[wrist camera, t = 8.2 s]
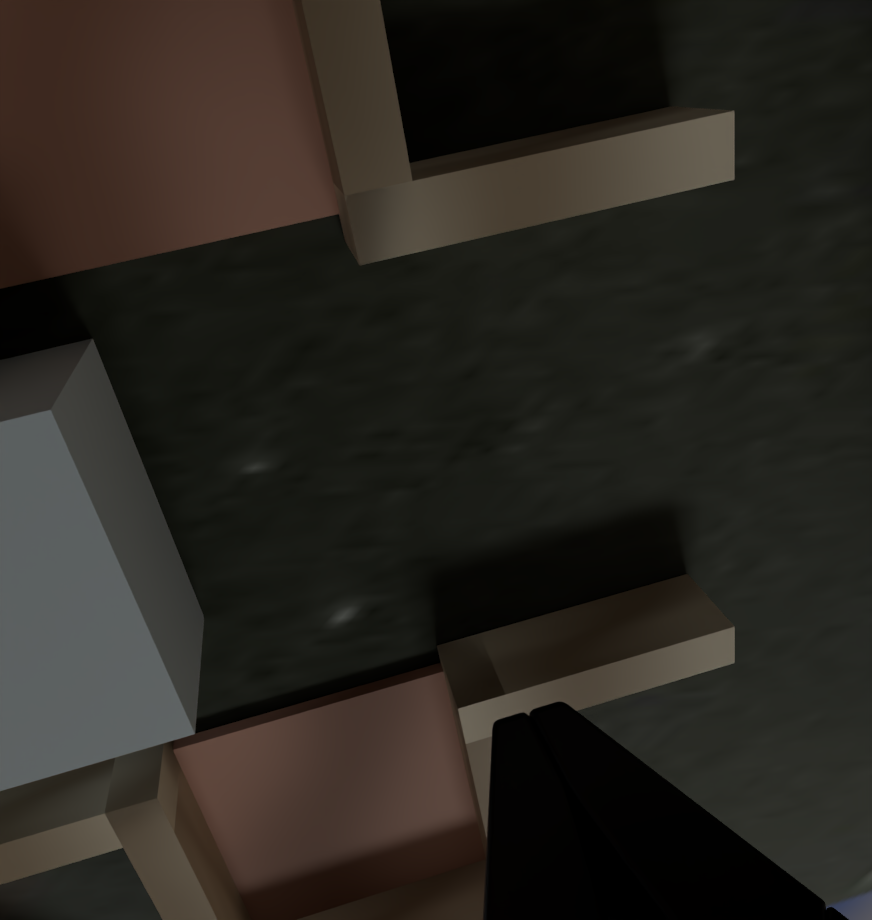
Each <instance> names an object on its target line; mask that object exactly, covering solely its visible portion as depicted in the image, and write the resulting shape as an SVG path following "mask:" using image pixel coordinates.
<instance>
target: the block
mask: <svg viewBox="0 0 872 920" xmlns="http://www.w3.org/2000/svg"><path fill="white" fill-rule="evenodd" d="M203 624H204V616H203V613H202V611H201V608H200V606H199V603H198V601H197V598H196V596H195V593H194V591H193V588H192V586H191V583H190V581H189V578H188V576H187V573H186V571H185V568H184V566H183V563H182V561H181V558H180V556H179V553H178V551H177V548H176V546H175V543H174V541H173V538H172V536H171V533H170V531H169V528H168V526H167V523H166V521H165V518H164V516H163V513H162V511H161V508H160V506H159V503H158V501H157V498H156V496H155V493H154V491H153V488H152V486H151V483H150V481H149V478H148V476H147V473H146V471H145V468H144V466H143V463H142V461H141V458H140V456H139V453H138V451H137V448H136V446H135V443H134V441H133V438H132V436H131V433H130V431H129V428H128V426H127V423H126V421H125V418H124V416H123V413H122V411H121V408H120V406H119V403H118V401H117V398H116V396H115V393H114V391H113V388H112V386H111V383H110V381H109V378H108V376H107V373H106V371H105V368H104V366H103V363H102V361H101V358H100V356H99V353H98V351H97V348H96V346H95V343H94V341H93V338H92V339H88V340H84V341H80V342H75V343H71V344H67V345H63V346H58V347H54V348H50V349H46V350H41V351H37V352H33V353H29V354H24V355H20V356H16V357H11V358H7V359H3V360H0V791H3V790H6V789H9V788H13V787H16V786H20V785H23V784H26V783H30V782H33V781H37V780H40V779H44V778H47V777H50V776H54V775H57V774H61V773H64V772H67V771H71V770H74V769H78V768H81V767H84V766H88V765H91V764H95V763H98V762H102V761H105V760H108V759H112V758H115V757H119V756H122V755H125V754H129V753H132V752H136V751H139V750H143V749H146V748H149V747H153V746H156V745H160V744H163V743H166V742H170V741H173V740H177V739H180V738H183V737H187V736H190V735H194V734H195V728H196V715H197V702H198V689H199V676H200V663H201V650H202V637H203Z"/></svg>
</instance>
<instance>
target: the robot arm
mask: <svg viewBox="0 0 872 920" xmlns="http://www.w3.org/2000/svg"><path fill="white" fill-rule="evenodd" d="M483 920H848V919H847V918H846V917H845V916H843V915H842V914H841V913H840V912H838V911H837V910H836V909H834V908H832V907H829V908H827V909H826V905H825V902H824V901H823V900H822V899H821V898H819V897H818V896H817V895H816V894H814V893H813V892H812V891H810V890H809V889H808V888H806V887H805V886H804V885H803V884H801V883H800V882H799V881H797V880H796V879H795V878H793V877H792V876H791V875H790V874H788V873H787V872H786V871H784V870H783V869H782V868H780V867H779V866H778V865H776V864H775V863H774V862H773V861H771V860H770V859H769V858H767V857H766V856H765V855H763V854H762V853H761V852H760V851H758V850H757V849H756V848H754V847H753V846H752V845H750V844H749V843H748V842H747V841H745V840H744V839H743V838H741V837H740V836H739V835H737V834H736V833H735V832H733V831H732V830H731V829H730V828H728V827H727V826H726V825H724V824H723V823H722V822H720V821H719V820H718V819H717V818H715V817H714V816H713V815H711V814H710V813H709V812H707V811H706V810H705V809H703V808H702V807H701V806H700V805H698V804H697V803H696V802H694V801H693V800H692V799H690V798H689V797H688V796H687V795H685V794H684V793H683V792H681V791H680V790H679V789H677V788H676V787H675V786H674V785H672V784H671V783H670V782H668V781H667V780H666V779H664V778H663V777H662V776H660V775H659V774H658V773H657V772H655V771H654V770H653V769H651V768H650V767H649V766H647V765H646V764H645V763H644V762H642V761H641V760H640V759H638V758H637V757H636V756H634V755H633V754H632V753H630V752H629V751H628V750H627V749H625V748H624V747H623V746H621V745H620V744H619V743H617V742H616V741H615V740H614V739H612V738H611V737H610V736H608V735H607V734H606V733H604V732H603V731H602V730H601V729H599V728H598V727H597V726H595V725H594V724H593V723H591V722H590V721H589V720H587V719H586V718H585V717H584V716H582V715H581V714H580V713H578V712H577V711H576V710H574V709H573V708H572V707H571V706H569V705H568V704H566V703H564V702H560V701H559V702H555V703H551V704H548V705H545V706H541V707H538V708H535V709H533V710H532V711H531V712H530V713H529V715H528V714H526V713H524V712H523V713H518V714H515V715H511V716H508V717H505V718H501V719H498V720H496V721H495V722H494V724H493V727H492V745H491V765H490V785H489V805H488V825H487V846H486V866H485V886H484V906H483Z"/></svg>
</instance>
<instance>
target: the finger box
mask: <svg viewBox="0 0 872 920" xmlns="http://www.w3.org/2000/svg"><path fill="white" fill-rule="evenodd" d="M730 180H734V111H732V110H717V109H702V108H687V107H672V106H671V107H667V108H662V109H657V110H653V111H648V112H644V113H639V114H634V115H630V116H625V117H620V118H616V119H611V120H606V121H602V122H597V123H593V124H588V125H583V126H579V127H574V128H569V129H565V130H560V131H556V132H551V133H546V134H542V135H537V136H532V137H528V138H523V139H518V140H514V141H509V142H505V143H500V144H495V145H491V146H486V147H481V148H477V149H472V150H468V151H463V152H458V153H454V154H449V155H444V156H440V157H435V158H431V159H426V160H421V161H417V162H412V163H409V158H408V153H407V147H406V142H405V136H404V130H403V125H402V119H401V114H400V108H399V103H398V97H397V92H396V86H395V81H394V75H393V70H392V64H391V59H390V53H389V48H388V42H387V37H386V31H385V25H384V20H383V14H382V9H381V3H380V0H0V289H1V288H6V287H10V286H15V285H19V284H24V283H29V282H33V281H38V280H42V279H47V278H51V277H56V276H60V275H65V274H69V273H74V272H78V271H83V270H87V269H92V268H96V267H101V266H105V265H110V264H114V263H119V262H124V261H128V260H133V259H137V258H142V257H146V256H151V255H155V254H160V253H164V252H169V251H173V250H178V249H182V248H187V247H191V246H196V245H200V244H205V243H209V242H214V241H219V240H223V239H228V238H232V237H237V236H241V235H246V234H250V233H255V232H259V231H264V230H268V229H273V228H277V227H282V226H286V225H291V224H295V223H300V222H304V221H309V220H314V219H318V218H323V217H327V216H332V215H336V214H339V217H340V221H341V226H342V230H343V234H344V239H345V242H346V243H347V245H348V247H349V248H350V250H351V252H352V253H353V255H354V257H355V258H356V260H357V261H358V263H359V265H363V264H368V263H372V262H377V261H381V260H385V259H390V258H394V257H398V256H403V255H407V254H412V253H416V252H420V251H425V250H429V249H433V248H438V247H442V246H446V245H451V244H455V243H460V242H464V241H468V240H473V239H477V238H481V237H486V236H490V235H494V234H499V233H503V232H508V231H512V230H516V229H521V228H525V227H529V226H534V225H538V224H542V223H547V222H551V221H556V220H560V219H564V218H569V217H573V216H577V215H582V214H586V213H591V212H595V211H599V210H604V209H608V208H612V207H617V206H621V205H625V204H630V203H634V202H639V201H643V200H647V199H652V198H656V197H660V196H665V195H669V194H673V193H678V192H682V191H687V190H691V189H695V188H700V187H704V186H708V185H713V184H717V183H721V182H726V181H730ZM437 649H438V654H439V658H440V662H441V663H438V664H434V665H431V666H427V667H424V668H420V669H417V670H413V671H410V672H407V673H403V674H400V675H396V676H393V677H389V678H386V679H382V680H379V681H375V682H372V683H368V684H365V685H362V686H358V687H355V688H351V689H348V690H344V691H341V692H337V693H334V694H330V695H327V696H324V697H320V698H317V699H313V700H310V701H306V702H303V703H299V704H296V705H292V706H289V707H285V708H282V709H279V710H275V711H272V712H268V713H265V714H261V715H258V716H254V717H251V718H247V719H244V720H241V721H237V722H234V723H230V724H227V725H223V726H220V727H216V728H213V729H209V730H206V731H202V732H199V733H196V734H194V735H190V736H187V737H183V738H180V739H177V740H173V741H170V742H166V743H163V744H160V745H156V746H153V747H149V748H146V749H143V750H139V751H136V752H132V753H129V754H125V755H122V756H119V757H115V758H112V759H108V760H105V761H102V762H98V763H95V764H91V765H88V766H84V767H81V768H78V769H74V770H71V771H67V772H64V773H61V774H57V775H54V776H50V777H47V778H44V779H40V780H37V781H33V782H30V783H26V784H23V785H20V786H16V787H13V788H9V789H6V790H3V791H0V885H1V884H4V883H8V882H11V881H14V880H17V879H21V878H24V877H27V876H31V875H34V874H37V873H41V872H44V871H47V870H51V869H54V868H57V867H60V866H64V865H67V864H70V863H74V862H77V861H80V860H84V859H87V858H90V857H94V856H97V855H100V854H104V853H107V852H110V851H113V850H117V849H120V848H124V850H125V852H126V854H127V856H128V857H129V859H130V861H131V863H132V865H133V867H134V868H135V870H136V872H137V874H138V876H139V877H140V879H141V881H142V883H143V885H144V887H145V888H146V890H147V892H148V894H149V896H150V897H151V899H152V901H153V903H154V905H155V907H156V908H157V910H158V912H159V914H160V916H161V918H162V919H163V920H483V906H484V886H485V866H486V846H487V825H488V805H489V785H490V765H491V745H492V727H493V724H494V722H495V721H496V720H498V719H501V718H505V717H508V716H511V715H515V714H518V713H523V712H524V713H526V714H528V715H529V713H530V712H531V711H532V710H533V709H535V708H538V707H541V706H545V705H548V704H551V703H555V702H559V701H560V702H564V703H566V704H568V705H569V706H571V707H572V708H573V709H574V710H576V711H577V710H580V709H584V708H587V707H590V706H594V705H597V704H600V703H604V702H607V701H610V700H614V699H617V698H620V697H624V696H627V695H630V694H633V693H637V692H640V691H643V690H647V689H650V688H653V687H657V686H660V685H663V684H667V683H670V682H673V681H677V680H680V679H683V678H686V677H690V676H693V675H696V674H700V673H703V672H706V671H710V670H713V669H716V668H720V667H723V666H726V665H729V664H733V663H735V627H734V625H733V624H732V623H731V622H730V621H729V620H728V619H727V618H726V617H725V615H724V614H723V613H722V612H721V611H720V610H719V609H718V608H717V606H716V605H715V604H714V603H713V602H712V601H711V600H710V599H709V597H708V596H707V595H706V594H705V593H704V592H703V591H702V590H701V588H700V587H699V586H698V585H697V584H696V583H695V582H694V581H693V579H692V578H691V577H690V576H689V575H688V574H685V575H682V576H678V577H675V578H671V579H668V580H664V581H661V582H657V583H654V584H650V585H647V586H643V587H640V588H636V589H633V590H629V591H626V592H622V593H619V594H615V595H612V596H608V597H605V598H601V599H598V600H594V601H591V602H587V603H584V604H580V605H577V606H574V607H570V608H567V609H563V610H560V611H556V612H553V613H549V614H546V615H542V616H539V617H535V618H532V619H528V620H525V621H521V622H518V623H514V624H511V625H507V626H504V627H500V628H497V629H493V630H490V631H486V632H483V633H479V634H476V635H472V636H469V637H465V638H462V639H458V640H455V641H451V642H448V643H444V644H441V645H437Z"/></svg>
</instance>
